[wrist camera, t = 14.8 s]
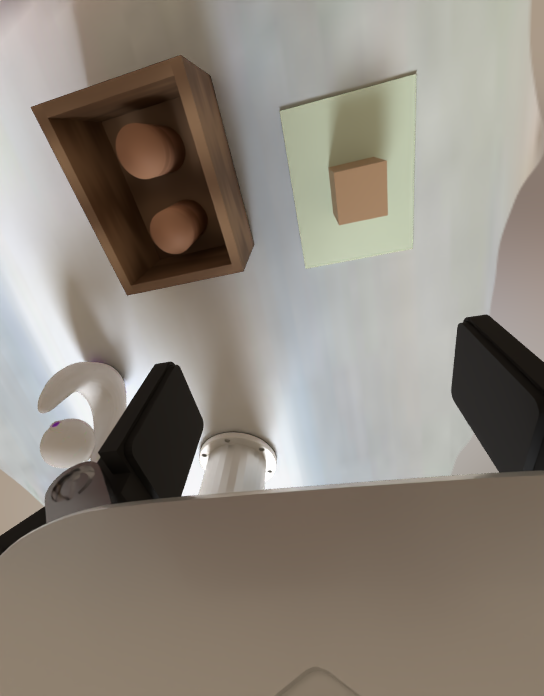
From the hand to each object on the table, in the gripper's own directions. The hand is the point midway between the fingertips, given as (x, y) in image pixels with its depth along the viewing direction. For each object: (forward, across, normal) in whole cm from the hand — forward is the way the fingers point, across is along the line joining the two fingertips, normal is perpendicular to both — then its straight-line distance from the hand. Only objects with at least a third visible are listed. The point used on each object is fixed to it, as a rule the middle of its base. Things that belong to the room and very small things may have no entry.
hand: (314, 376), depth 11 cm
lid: (+26, -5, -3) cm, 26 cm away
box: (+25, +11, -6) cm, 28 cm away
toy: (+26, +28, +14) cm, 41 cm away
